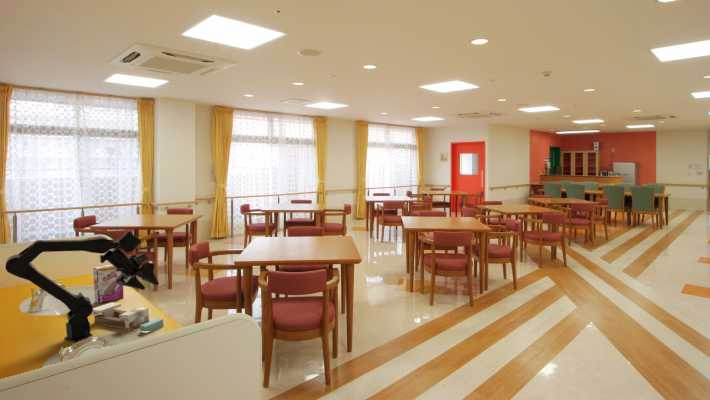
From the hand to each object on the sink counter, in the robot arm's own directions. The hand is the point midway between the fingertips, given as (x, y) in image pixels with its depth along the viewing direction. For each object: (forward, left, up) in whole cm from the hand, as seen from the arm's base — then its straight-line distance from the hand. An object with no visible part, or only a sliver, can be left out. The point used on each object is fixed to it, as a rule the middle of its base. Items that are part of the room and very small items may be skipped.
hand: (151, 286), depth 169 cm
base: (-7, +10, -14) cm, 18 cm away
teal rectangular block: (-7, -7, -14) cm, 17 cm away
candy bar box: (+11, +42, -14) cm, 46 cm away
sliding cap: (-7, +19, -13) cm, 24 cm away
